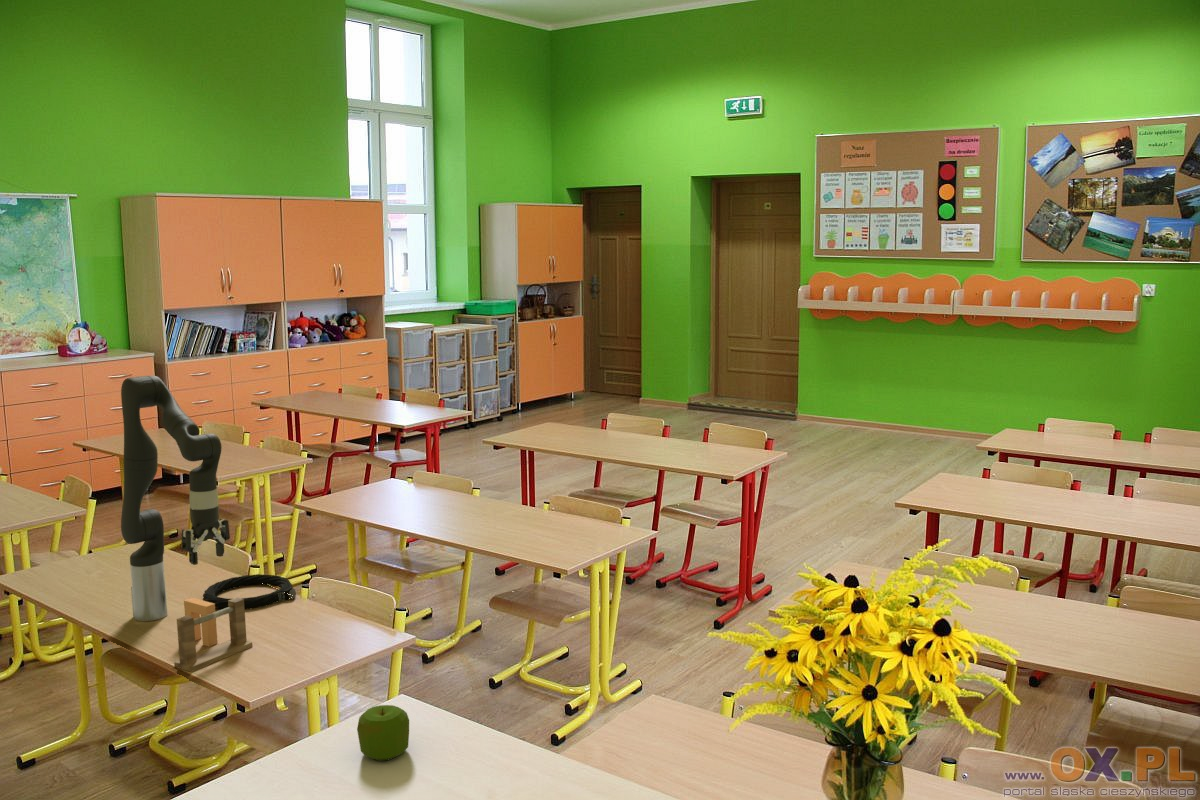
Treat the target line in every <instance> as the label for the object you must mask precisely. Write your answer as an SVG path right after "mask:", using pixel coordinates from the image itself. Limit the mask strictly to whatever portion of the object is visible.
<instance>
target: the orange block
mask: <svg viewBox="0 0 1200 800" xmlns="http://www.w3.org/2000/svg"><path fill="white" fill-rule="evenodd" d="M183 607H184V608H183V610H184V616H190V617H193V618H194V619H197V618H200V617H203V616H205V615H208V614H211V613H214V612H216V608H215V604H214V603H210V602H207V601H203V599H198V598H195V597H190V598H188V599H184V600H183ZM194 631H195V642H196V641H199V640H201V639H202V646H205V647H209V648H211V647H213V646H216V645H218V631H217V618H214V619H211V620H209V621H206V622H203V623H201V624H198V625H195V626H194Z"/></svg>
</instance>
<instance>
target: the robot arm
mask: <svg viewBox="0 0 1200 800" xmlns="http://www.w3.org/2000/svg"><path fill="white" fill-rule="evenodd" d="M120 389H121V390H120V397H121V410H122V411H121V412H122V419H123V420H122V421H123V496H122V497H123V499H122V509H121V518H120V531H121V536H122V538H123V541H125V543H126V544H129V545H135V544H139V543H143V544H142V545H141V546H140V547H139V548H138V549H137V550H135V551H133V552H132V553H131V554H130V556H129V562H130V564H129V566H130V576H131V587H130V591H131V592H130V594H131V605H132V606H131V607H132V616H133V617H134V620H136V621H137V622H153V621H157V620H161V619H162V618H164V617H166V616H167V615H168V606H167V605H168V603H167V590H166V577H165V566H164V565H165V563H164V553H165V528H164V527H165V525H164V519H163V516H162V515H161V513H160V511H159V510H157V509H155V508H148V509H143V510H141V507H142V506H141V505H142V501H143V499H144V496H145V494H146V493H147V491H148V489H149V487H150V486H151V484H152V482H153V481H154V479H155V477H156V475H157V472H158V461H159V460H158V457H159V455H158V447H157V446H156V444H155V442H154V441H153V439H152V438H151V437H150V435H149V434H148V432H147V431H146V429H145V428H144V426H143V424H142V421H141V413H140V410H141V409H144V408H152V407H158V408H159V409H161V410H162V416H161V423H162V426H163V428H164V430H165V431H166V432H167V434H169V436H171V437H172V439H174V441H175V443H176V444H177V446H178V448H179V452H180V454H181V456H182V458H184V459H185V461H188V462H198V461H202V462H201V463H200V465H198V466H197V467H195V468H193V469H191V470H190V471H189V473H188V474H189V477H188V479H189V481H188V482H189V497H188V498H189V513H190V514H189V518H190V523H191V528H190V529H183V528H182V530H181V550H182V551H184V552H188V558H189V559H188V562H189V563H190V564H191V565H192V566H193V565H194V566H195V565H198V563H199V561H198V560H199V559H198V548H199V547H200V546H201V545H202V543H203V542H206V541H208V540H214V541H215V542H216V543H215V555H216V556H217V557H219V558H221V557H223V556H224V554H225V542H226V541H228V540H230V539H231V535H230V534H231V533H230V527H229V526H230V524H229V523H230V522H229V520H228V519H226V518H220V505H219V493H218V487H217V485H218V484H217V472H218V467H219V462H220V459H221V454H222V442H221V439H220V438H219V436H218V435H216V434H215V433H204V434H200V432H201V431H200V428H199V426H198V424H196V423H195V421H193V420H192V419H191V417H190V416H189V415H188V414H186V412H184V410H183V409H182V407H180V405H179V403H178V402H177V400H176V399H175V397H174V396H173V394H172V392H171V391H170V390H169V388H168V386H167V385H166V383H165V382H164V381H163V379H161V378H160V377H159V376H156V375H142V376H133V377H126V378H125V379H124V380H123V381H122V384H121V388H120ZM218 530H219V531H218Z"/></svg>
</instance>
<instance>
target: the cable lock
mask: <svg viewBox="0 0 1200 800" xmlns="http://www.w3.org/2000/svg"><path fill="white" fill-rule="evenodd" d="M262 583H263V584H265V585H263V584H262ZM256 584H258V586H259V584H261V585H260V586H273V587H278V589H277V590H274V591H273V592H270V593H265V594H262V595H258V596H253V597H252V596H251V597H244V598H243V597H242V598H241V599H244V608H245V610H250V608H252V609H256V608H261V607H266V605H267V606H270V605H272V604H275V603H281V602H284V601H287V600H288V599H289V598H290V600H291V597H292V598H294V599H295V598H296V596H297V592H296V589H295V588H294V587H293V584H292V583H291V581H290V580H289V579H287V578H286V577H284V576H280V575H277V574H276V575H274V574H262V573H261V574H260V573H257V574H249V575H248V574H246V575H242V576H234V577H230V578H227V579H223V580H221V581H216V582H215V583H214V584H211V585H209V586H208V587H207V588H206V589H205V590H204V591H203V592H204V593H203V594H202V597H203V598H202V600H203V601H207V602H210V603H214V604H215V609H219V610H222V609H224V608H227V607H228V601H229V600H231V599H232V598H227V597H219V596H217V595H219V594H220V593H223V592H224V591H223V590H226V591H227V589H228V590H230V588H232V589H234V588H233V587H237V588H240V587H239V586H241V587H245V586H256ZM222 591H223V592H222ZM284 592H285V593H284ZM287 593H288V594H291V595H288V594H287ZM292 595H293V596H292ZM294 596H295V597H294ZM277 601H278V602H277ZM288 601H289V600H288ZM269 604H270V605H269Z"/></svg>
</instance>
